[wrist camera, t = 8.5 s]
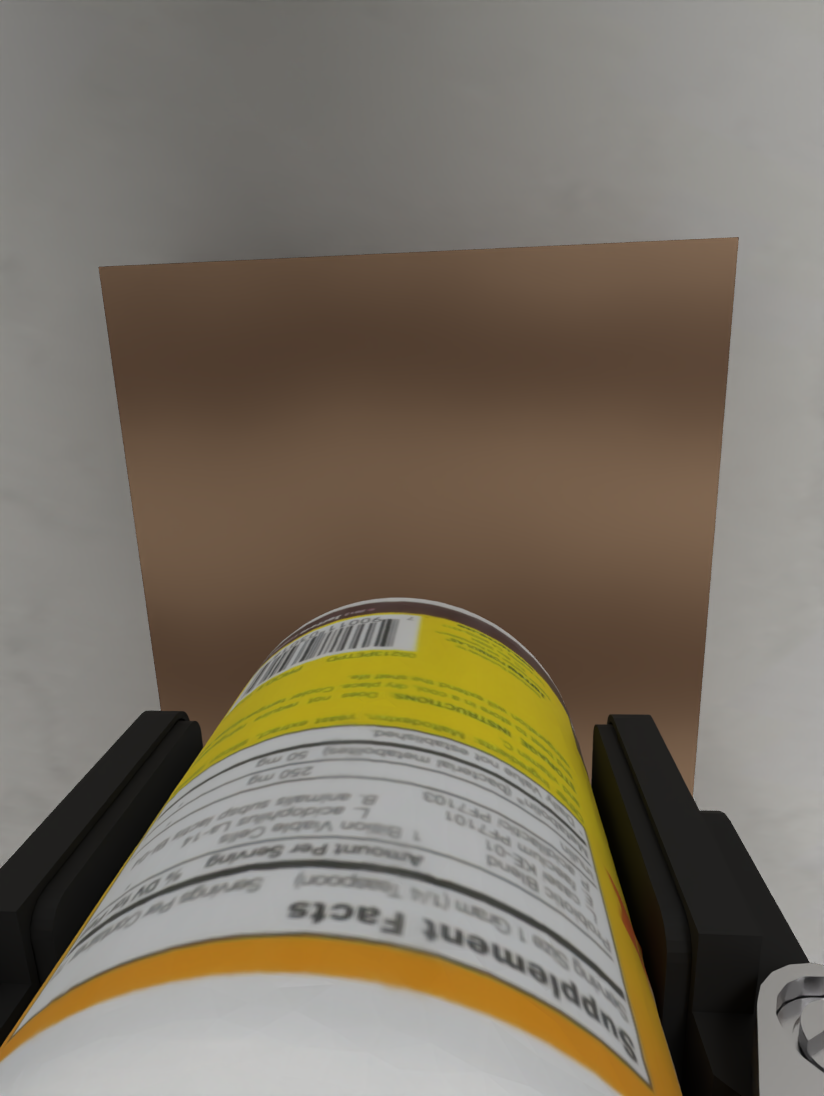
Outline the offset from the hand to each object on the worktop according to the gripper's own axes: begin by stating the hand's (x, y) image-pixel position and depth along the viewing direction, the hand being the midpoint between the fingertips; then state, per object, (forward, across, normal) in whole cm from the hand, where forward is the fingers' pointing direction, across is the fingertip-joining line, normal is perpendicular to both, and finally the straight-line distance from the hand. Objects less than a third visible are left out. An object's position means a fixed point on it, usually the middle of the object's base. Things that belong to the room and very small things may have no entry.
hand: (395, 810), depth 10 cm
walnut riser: (+8, 0, 0) cm, 8 cm away
